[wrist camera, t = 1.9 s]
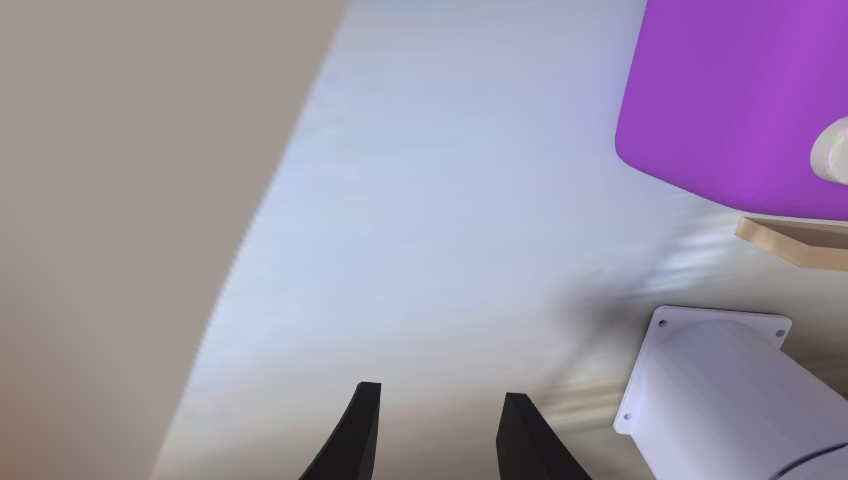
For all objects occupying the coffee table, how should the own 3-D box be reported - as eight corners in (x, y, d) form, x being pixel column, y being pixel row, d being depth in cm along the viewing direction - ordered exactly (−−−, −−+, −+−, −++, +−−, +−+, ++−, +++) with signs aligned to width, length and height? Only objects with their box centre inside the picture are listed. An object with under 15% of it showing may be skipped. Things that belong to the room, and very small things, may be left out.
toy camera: (905, -192, 15) (1665, -616, 6) (815, 166, 20) (1149, 239, 11) (617, -150, 16) (907, -488, 6) (600, 190, 21) (746, 280, 11)
